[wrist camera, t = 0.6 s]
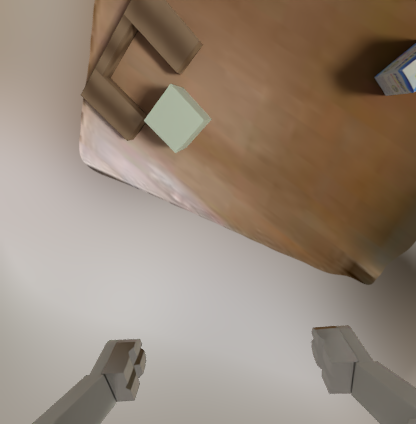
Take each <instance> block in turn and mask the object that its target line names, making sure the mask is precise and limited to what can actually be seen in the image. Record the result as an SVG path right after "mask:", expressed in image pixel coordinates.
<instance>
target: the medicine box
mask: <svg viewBox="0 0 416 424" xmlns="http://www.w3.org/2000/svg"><path fill="white" fill-rule="evenodd" d="M374 78H375V79H376V81H377V83H378V84H379V86H380V87H381V89H382V90H383V92H384V94H385V95H386V96H388V95H396V94H406V93H414V92H415V91H416V43H415V44H414V45H413V46H411V47H410V48H409V49H408V50H407V51H405V52H404V53H403V54H402V55H400V56H399V57H398V58H397V59H396V60H394V61H393V62H392V63H391V64H389V65H388V66H387V67H386V68H385V69H383V70H382V71H381V72H380V73H379V74H377V75H376V76H375V77H374Z"/></svg>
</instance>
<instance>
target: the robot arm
mask: <svg viewBox="0 0 416 424" xmlns="http://www.w3.org/2000/svg"><path fill="white" fill-rule="evenodd" d="M312 335H313V338H314V339H313V340H312V351H313V355H314V358H315V361H316V363H317V365H318V366H319V367H320V368H321V369H322V378H323V380H324V383H325V385H326V387H327V390H328V392H329V393H330V394H331V393H332V394H335V393H352V396H353V397H354V398H355V399H356V400H357V401H358V402H359V403H360V404H361V405H362V406H363V407H364V408H365V409H366V410H367V411H368V412H369V413H370V414H371V415H372V416H373V417H374V418H375V419H376V420H377V421H378V422H379V423H380V424H416V388H415V387H414V386H412V385H411V384H409V383H408V382H407V381H405V380H404V379H402V378H401V377H399V376H398V375H397V374H395V373H394V372H392V371H391V370H389V369H388V368H386V367H385V366H383V365H382V364H380V363H379V362H375V361H373V360H372V358H371V357H370V355H369V354H368V352H367V351H366V349H365V348H364V346H363V345H362V343H361V342H360V341H359V339H358V337H357V336H356V335H355V333H354V332H353V330H352V329H351V327H350V326H348V325H346V326H329V327H316V328H313V329H312ZM141 346H142V343H141V340H140V339H129V340H110V341H108V342H107V343H106V345H105V347H104V349H103V351H102V353H101V354H100V356H99V358H98V360H97V362H96V364H95V366H94V367H93V369H92V371H91V373H90V375H86V376H85V377H84V378H83V379H82V380H81V381H79V382H78V383H77V384H76V385H75V386H74V387H73V388H72V389H71V390H69V391H68V392H67V393H66V394H65V395H64V396H63V397H62V398H60V399H59V400H58V401H57V402H56V403H55V404H54V405H53V406H51V407H50V408H49V409H48V410H47V411H46V412H45V413H44V414H43V415H41V416H40V417H39V418H38V419H37V420H36V421H35V422H34V423H32V424H100V423H101V422H102V421H103V419H104V418H105V417H106V416H107V414H108V413H109V412H110V411H111V409H112V408H113V407H114V405H115V404H116V402H117V401H132V400H135V397H136V394H137V391H138V388H139V385H140V383H139V379H138V378H139V377H140V376H141V375H142V374H143V372H144V369H145V363H146V356H145V352H144V350H143V349H141Z"/></svg>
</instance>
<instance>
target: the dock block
mask: <svg viewBox="0 0 416 424" xmlns="http://www.w3.org/2000/svg"><path fill="white" fill-rule="evenodd" d="M138 30H139V31H140V33H141V34H142V35H143V36H144V37H145V38H146V39H147V40H148V41H149V43H150V44H151V45H152V46H153V47H154V48H155V49H156V50H157V51H158V53H159V54H160V55H161V56H162V57H163V58H164V59H165V60H166V61H167V62H168V64H169V65H170V66H171V67H172V68H173V69H174V70H175V71H176V72H177V73H179V74H182V73H183V71H184V70H185V69H186V67H187V66H188V64H189V63H190V62H191V60H192V59H193V58H194V56H195V55H196V54H197V52H198V51H199V50H200V48H201V47H202V45H203V44H202V43H201V42H200V40H199V39H198V38H197V37H196V36H195V34H194V33H193V32H192V31H191V30H190V29H189V27H188V26H187V25H186V24H185V23H184V22H183V20H182V19H181V18H180V17H179V16H178V15H177V13H176V12H175V11H174V10H173V9H172V8H171V6H170V5H169V4H168V3H167V2H166V1H165V0H131V1H130V3H129V5H128V7H127V9H126V11H125V12H124V14H123V16H122V18H121V20H120V22H119V24H118V26H117V28H116V29H115V31H114V33H113V35H112V37H111V39H110V41H109V43H108V45H107V46H106V48H105V50H104V52H103V54H102V56H101V58H100V60H99V62H98V63H97V65H96V67H95V69H94V71H93V73H92V75H91V77H90V79H89V81H88V82H87V84H86V86H85V88H84V90H83V92H82V94H81V96H82V97H83V98H84V99H85V100H86V101H87V102H88V103H89V104H90V105H91V106H92V107H93V108H94V109H95V110H96V111H97V112H99V113H100V114H101V115H102V116H103V117H104V118H105V119H106V120H107V121H108V122H109V123H110V124H111V125H112V126H113V127H114V128H115V129H116V130H117V131H118V132H119V133H120V134H121V135H122V136H123V137H124V138H125V139H126V140H127V141H128V140H133V139H134V138H135V137H136V135H137V134H138V133H139V131H140V130H141V128H142V127H143V126H144V124H145V123H146V122H145V121H144V120H145V118H146V117H147V115H146V114H145V113H144V112H143V111H142V110H141V109H140V108H139V107H138V106H137V105H136V104H135V103H134V102H133V101H132V100H131V99H130V98H129V96H128V95H127V94H126V93H125V92H124V91H123V90H122V89H121V88H120V87H119V86H118V85H117V84H116V83H115V82H114V81H113V80H112V79H111V76H112V74H113V72H114V71H115V69H116V67H117V65H118V64H119V62H120V60H121V59H122V57H123V55H124V53H125V52H126V50H127V48H128V46H129V45H130V43H131V41H132V39H133V38H134V36H135V34H136V33H137V31H138Z"/></svg>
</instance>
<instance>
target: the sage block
mask: <svg viewBox="0 0 416 424" xmlns="http://www.w3.org/2000/svg"><path fill="white" fill-rule="evenodd" d="M211 120H212V119H211V118H210V117H209V116H208V114H207V113H206V112H205V111H204V110H203V109H202V108H201V107H200V106H199V105H198V103H197V102H196V101H195V100H194V99H193V98H192V97H191V96H190V95H189V94H188V92H187V91H186V90H185V89H184V88H182V87H179V86H176V85H173V84H170V85H169V87H168V88H167V89H166V91H165V92H164V93H163V95H162V96H161V98H160V99H159V100H158V102H157V103H156V104H155V106H154V107H153V109H152V110H151V111H150V113H149V114H148V116H147V117H146V118H145V120H144V121H145V122H146V123H147V124H148V125H149V126H150V128H151V129H152V130H153V131H154V132H155V133H156V134H157V135H158V136H159V137H160V138H161V139H162V140H163V141H164V142H165V143H166V144H167V145H168V146H169V147H170V148H171V149H172V150H173V151H174V152H175V153H177V152H179V151H181V150H183V149H185V148H186V147H187V146H188V145H189V144H190V143H191V142H192V141H193V140H194V138H195V137H196V136H197V135H198V134H199V133H200V132H201V131H202V130H203V128H204V127H205V126H206V125H207V124H208V123H209V122H210V121H211Z"/></svg>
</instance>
